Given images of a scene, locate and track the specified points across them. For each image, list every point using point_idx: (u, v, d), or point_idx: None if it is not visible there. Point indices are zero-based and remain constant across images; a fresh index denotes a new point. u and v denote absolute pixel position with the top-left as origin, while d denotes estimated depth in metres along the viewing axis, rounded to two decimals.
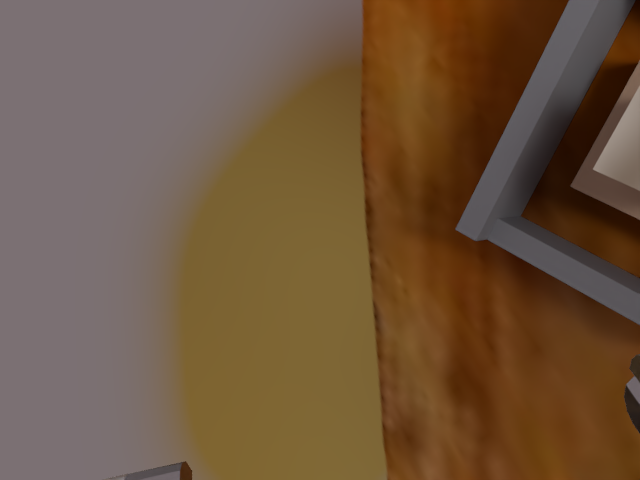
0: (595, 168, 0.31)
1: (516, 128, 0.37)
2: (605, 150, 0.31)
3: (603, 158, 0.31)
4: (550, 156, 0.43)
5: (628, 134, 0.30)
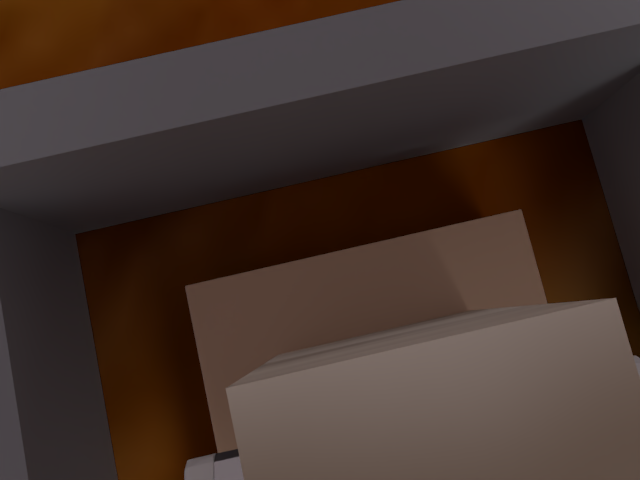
0: (235, 394, 0.07)
1: (206, 73, 0.12)
2: (314, 375, 0.07)
3: (285, 391, 0.07)
4: (221, 197, 0.19)
5: (413, 402, 0.07)
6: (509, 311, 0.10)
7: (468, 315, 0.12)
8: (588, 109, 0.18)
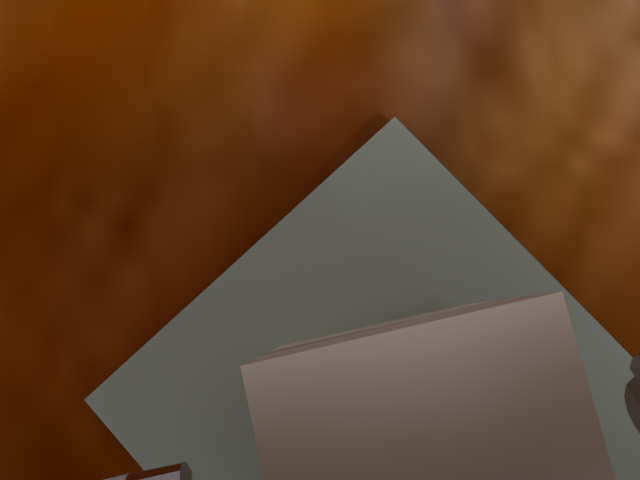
0: (248, 371, 0.09)
1: None
2: (313, 355, 0.09)
3: (289, 368, 0.09)
4: None
5: (395, 378, 0.09)
6: (482, 304, 0.12)
7: (450, 309, 0.14)
8: None
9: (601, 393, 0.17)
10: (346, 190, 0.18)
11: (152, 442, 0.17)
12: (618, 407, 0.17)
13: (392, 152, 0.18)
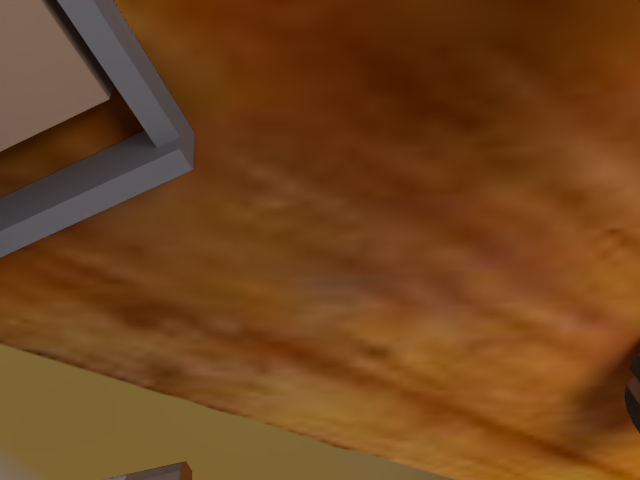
0: None
1: None
2: None
3: None
4: None
5: None
6: None
7: None
8: None
9: None
10: None
11: None
12: None
13: None
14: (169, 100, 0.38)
